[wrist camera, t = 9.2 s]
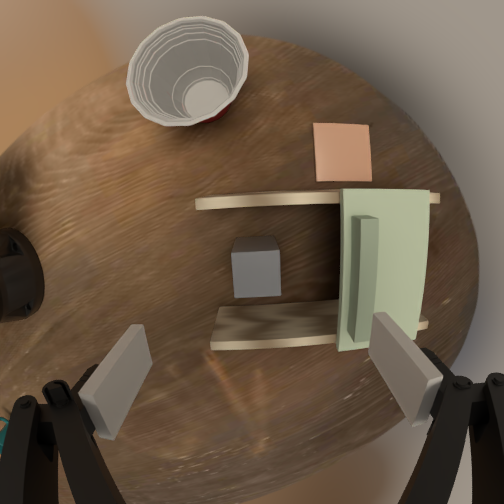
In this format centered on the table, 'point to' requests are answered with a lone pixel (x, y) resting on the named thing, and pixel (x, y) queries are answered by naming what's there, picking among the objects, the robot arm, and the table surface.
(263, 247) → the slate block
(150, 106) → the plastic cup
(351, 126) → the terracotta coaster
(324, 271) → the table surface
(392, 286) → the cover
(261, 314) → the wooden box
